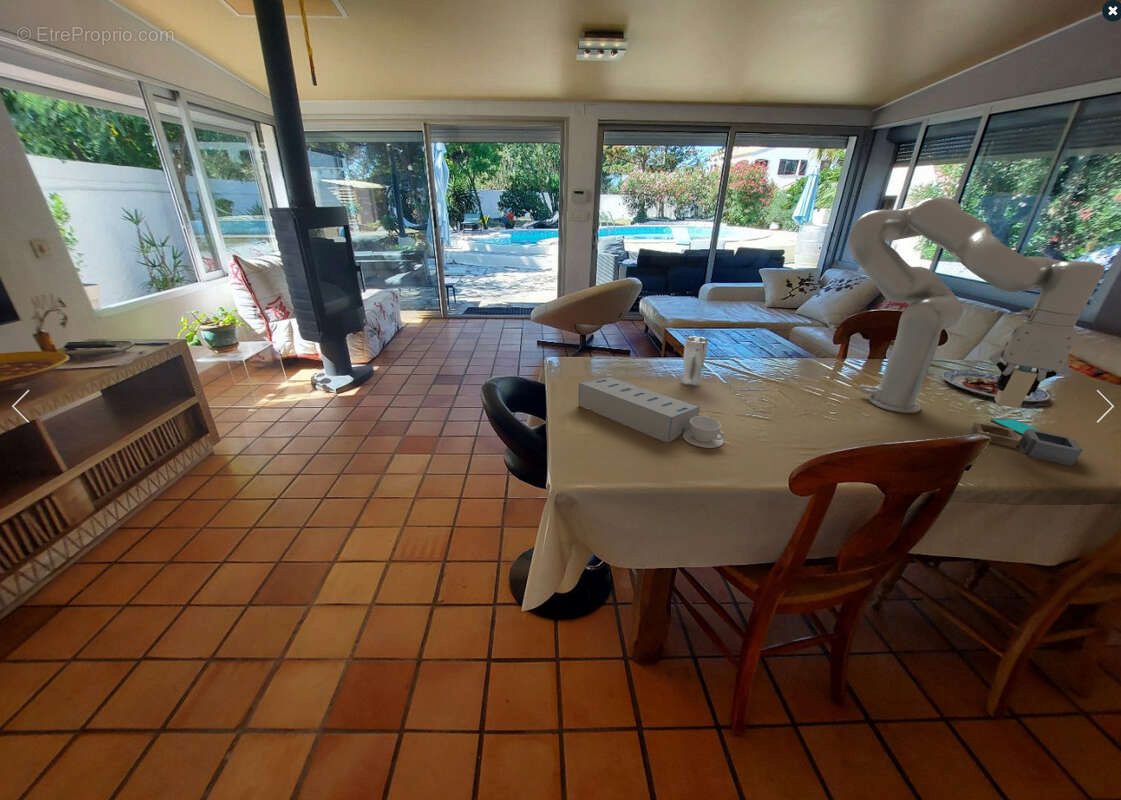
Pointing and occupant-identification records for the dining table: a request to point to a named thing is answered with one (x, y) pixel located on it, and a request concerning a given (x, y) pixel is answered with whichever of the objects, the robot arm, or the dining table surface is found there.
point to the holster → (996, 434)
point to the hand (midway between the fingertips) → (1013, 390)
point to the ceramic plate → (985, 384)
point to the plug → (1016, 387)
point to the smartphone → (1013, 425)
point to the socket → (1050, 447)
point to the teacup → (704, 432)
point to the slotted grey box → (638, 407)
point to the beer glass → (694, 360)
